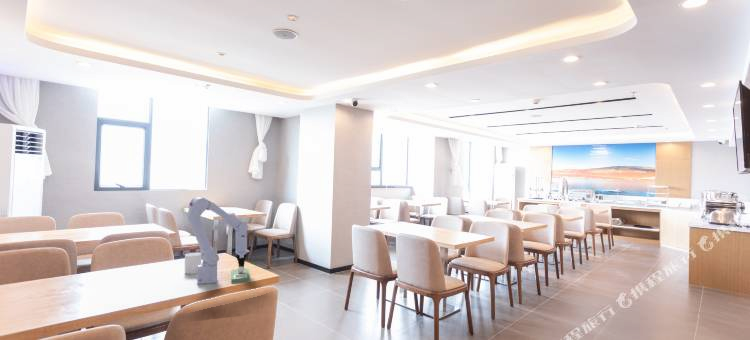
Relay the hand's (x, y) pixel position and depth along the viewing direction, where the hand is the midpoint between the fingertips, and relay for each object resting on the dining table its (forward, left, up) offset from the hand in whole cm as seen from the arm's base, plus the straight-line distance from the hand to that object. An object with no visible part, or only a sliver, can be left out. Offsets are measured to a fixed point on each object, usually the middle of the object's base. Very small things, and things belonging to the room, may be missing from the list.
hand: (241, 267), depth 204 cm
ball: (0, -1, -1) cm, 1 cm away
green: (-1, -3, -4) cm, 5 cm away
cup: (-26, +16, -5) cm, 31 cm away
